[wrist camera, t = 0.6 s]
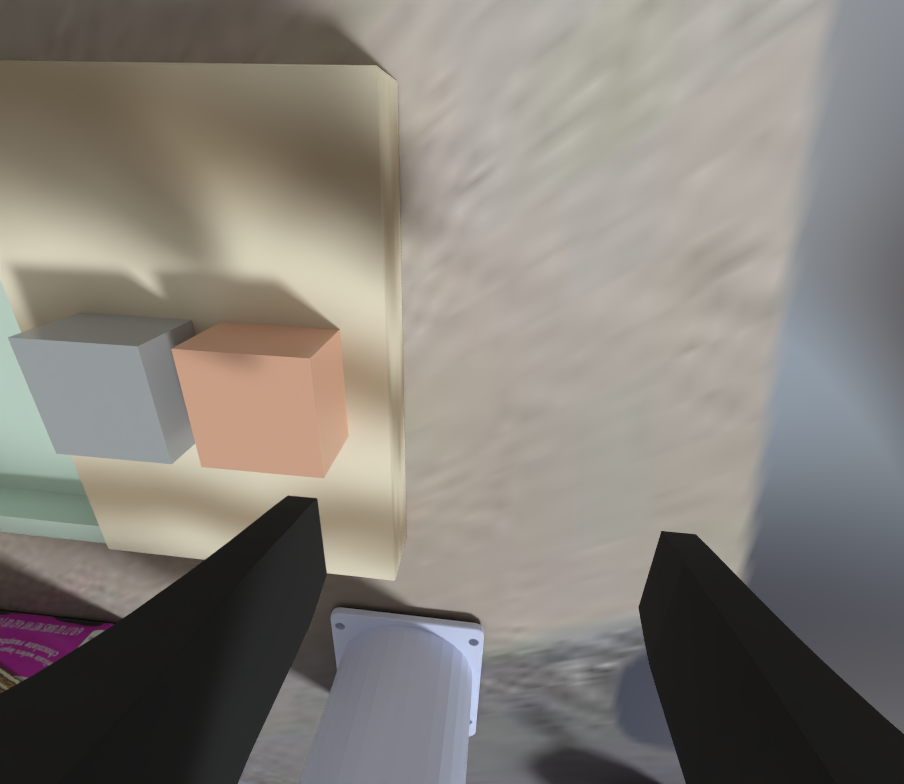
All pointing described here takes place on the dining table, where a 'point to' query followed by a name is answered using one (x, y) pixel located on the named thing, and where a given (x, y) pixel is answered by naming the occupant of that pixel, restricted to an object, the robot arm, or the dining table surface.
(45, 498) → the sage tray
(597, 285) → the dining table surface
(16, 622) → the candy bar box
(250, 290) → the birch plate
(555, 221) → the dining table surface
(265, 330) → the terracotta block
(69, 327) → the slate-grey block
